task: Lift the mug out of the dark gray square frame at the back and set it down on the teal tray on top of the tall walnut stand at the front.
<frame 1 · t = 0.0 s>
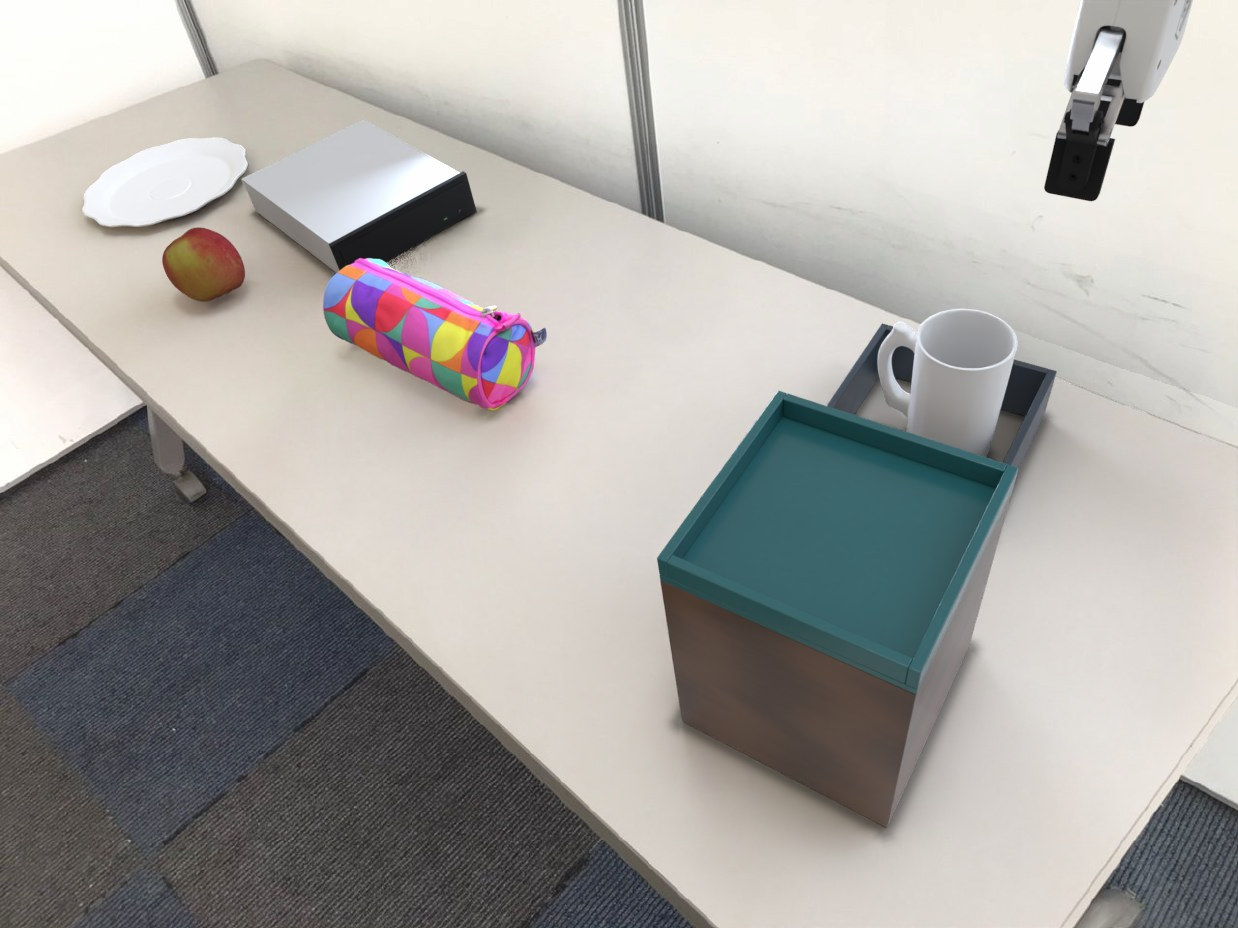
hand: (1092, 157, 62), 22 cm above the table, tool pointing down, fingers open, 9 cm apart
dark gray square frame: (926, 445, 76), on the table
pencil case: (443, 365, 91), on the table
mug: (926, 447, 76), resting in dark gray square frame
tray: (837, 535, 51), resting on riser
riser: (826, 683, 63), on the table
plate: (172, 191, 121), on the table
disc drive: (364, 214, 112), on the table
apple: (220, 297, 104), on the table
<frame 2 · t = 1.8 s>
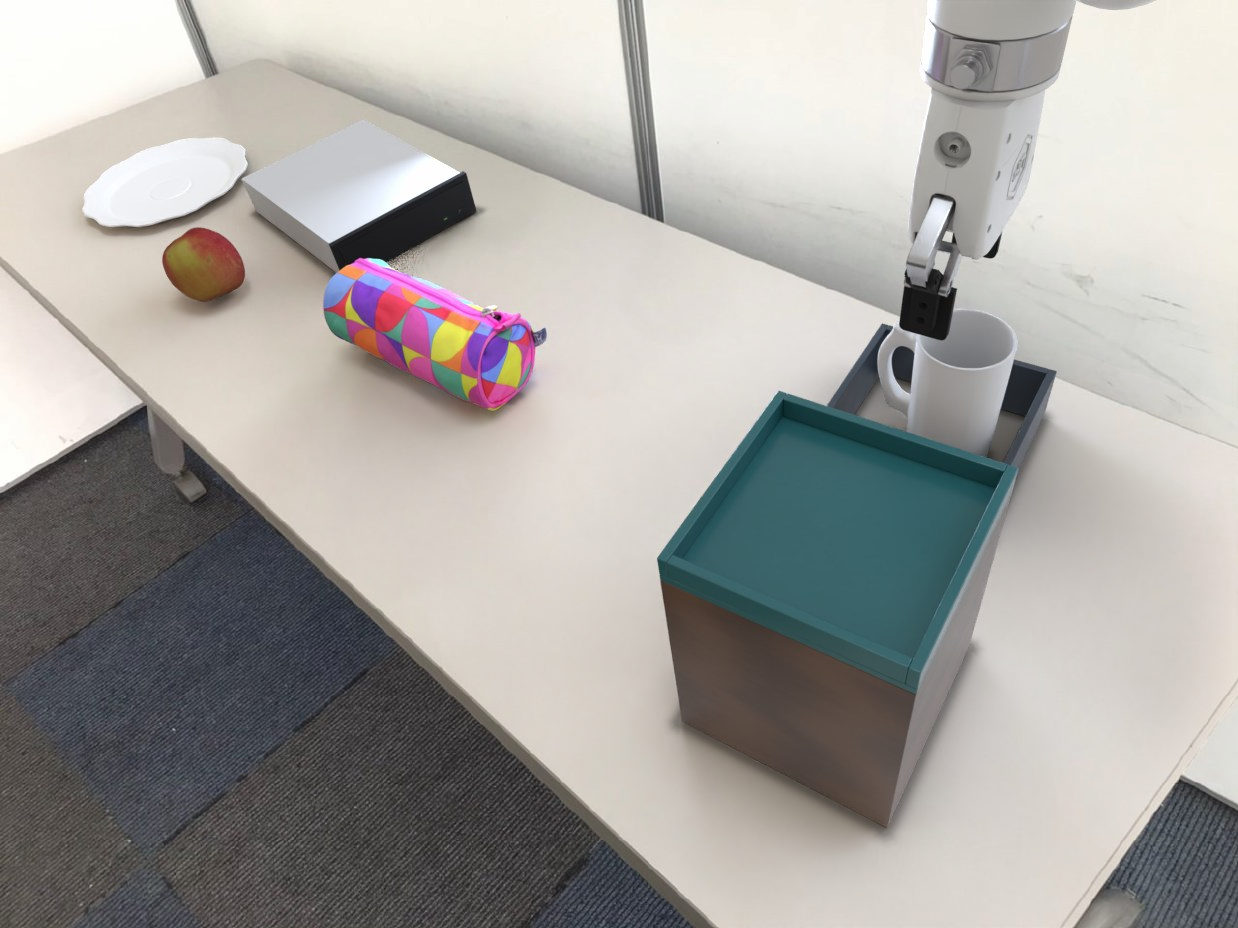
hand: (949, 291, 65), 15 cm above the table, tool pointing down, fingers open, 9 cm apart
nothing on the table moved.
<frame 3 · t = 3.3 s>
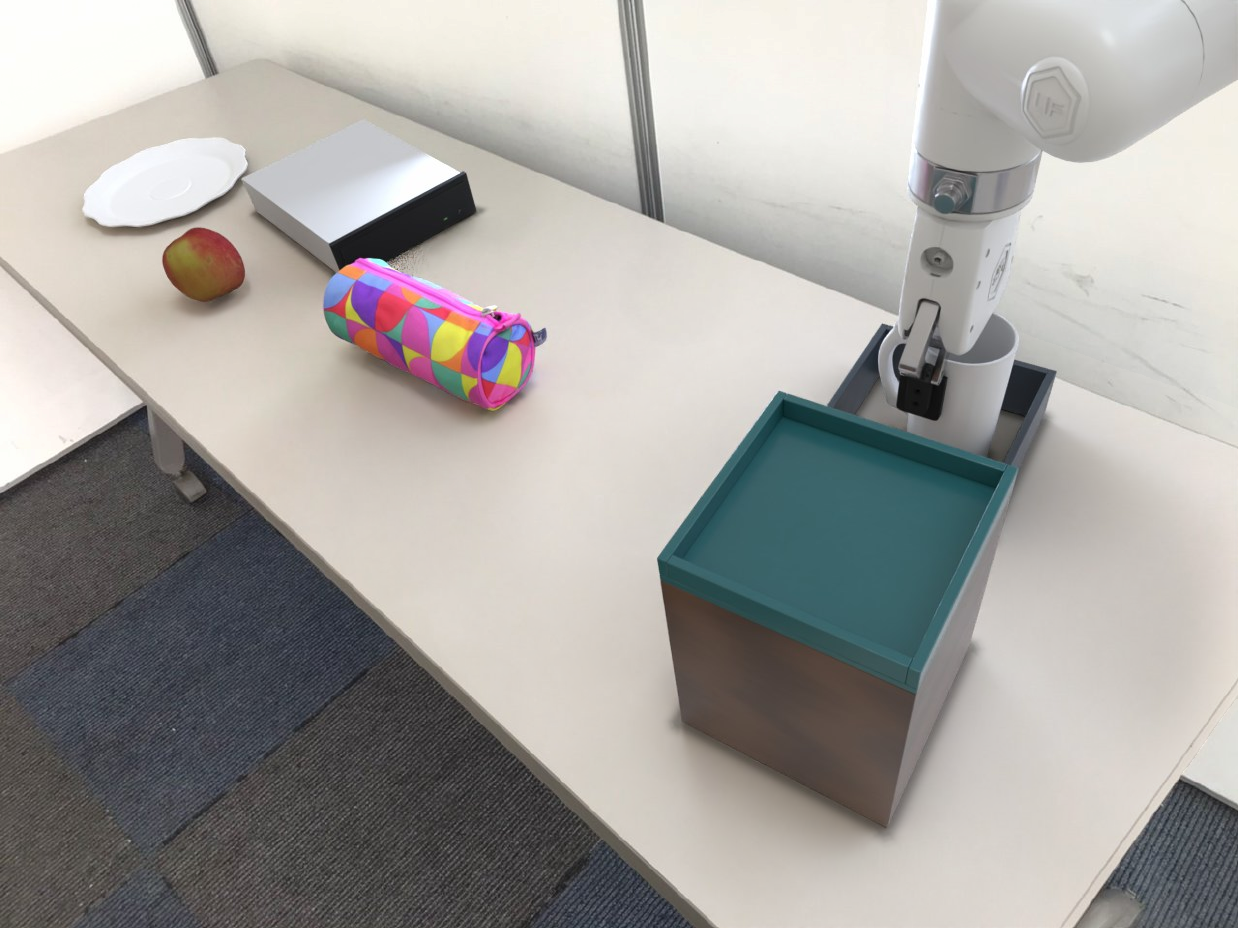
hand: (936, 379, 71), 7 cm above the table, tool pointing down, fingers closed on mug, 6 cm apart
mug: (926, 446, 76), resting in dark gray square frame, touching gripper
everything else where it was.
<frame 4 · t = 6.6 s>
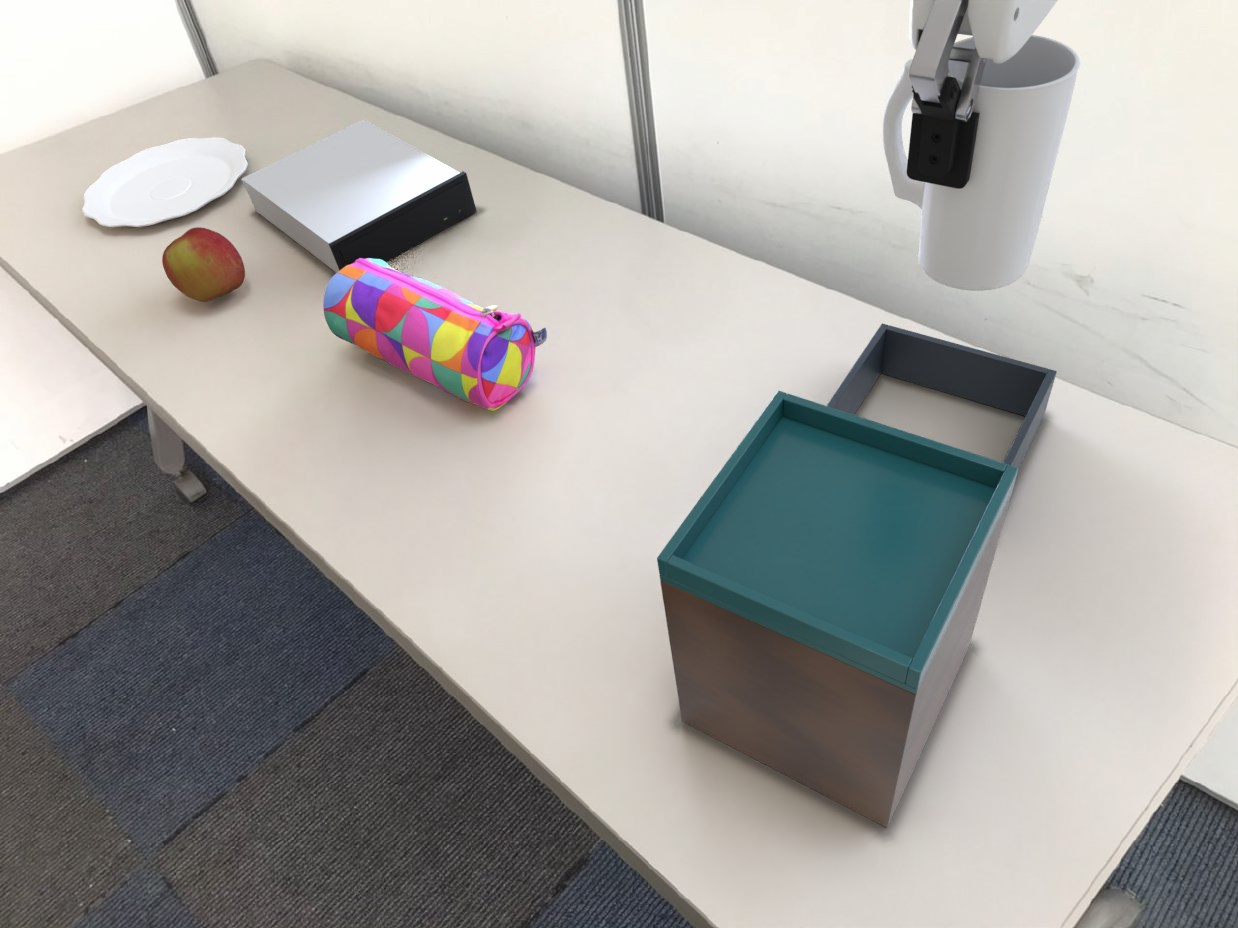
hand: (962, 145, 52), 29 cm above the table, tool pointing down, fingers closed on mug, 6 cm apart
mug: (947, 255, 57), point 22 cm above the table, touching gripper
everything else where it was.
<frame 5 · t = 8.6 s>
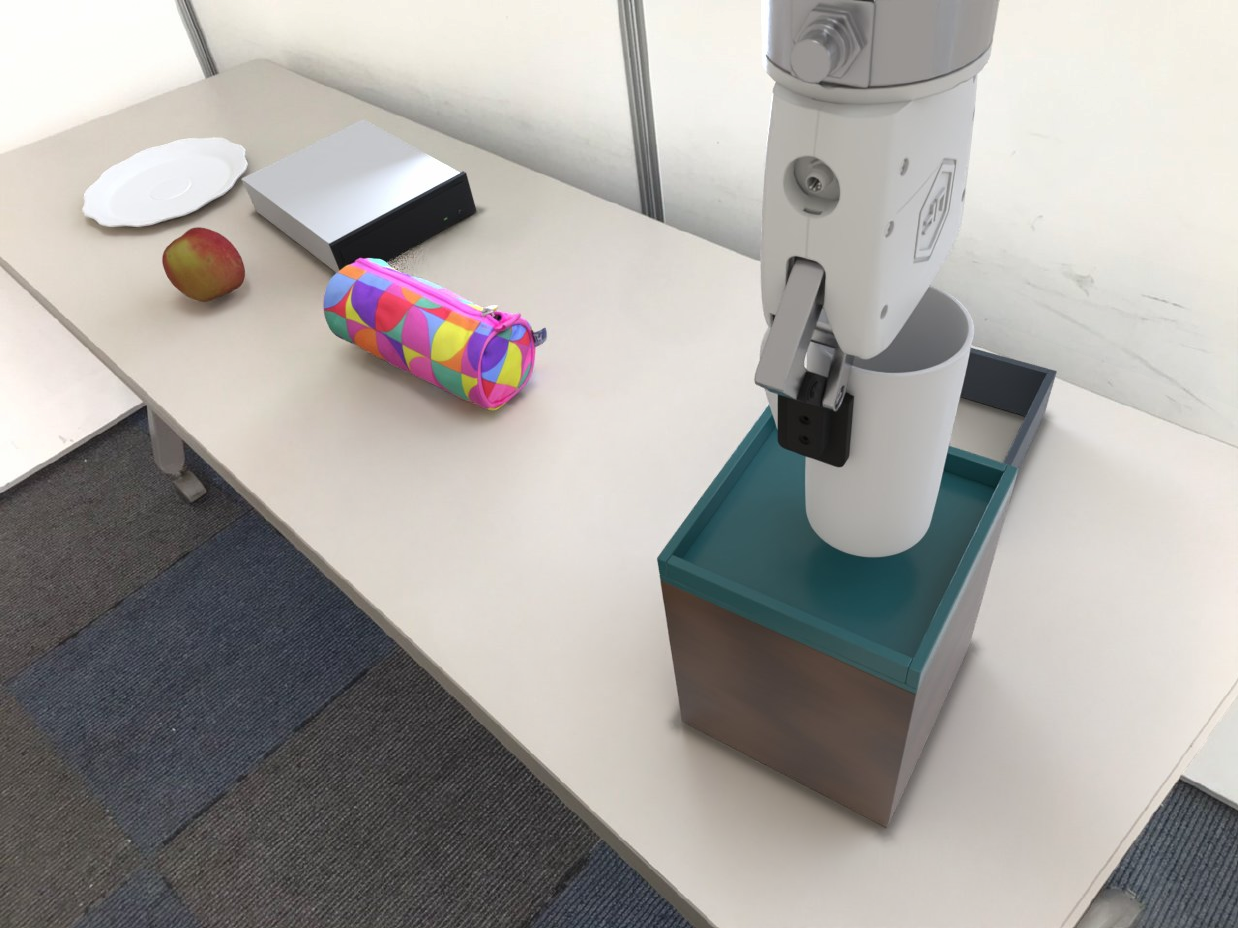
hand: (847, 398, 44), 26 cm above the table, tool pointing down, fingers closed on mug, 6 cm apart
mug: (840, 499, 49), point 19 cm above the table, touching gripper
everything else where it was.
when the fingers open (24 cm above the table, at t = 9.9 s): mug stays where it is, resting on tray.
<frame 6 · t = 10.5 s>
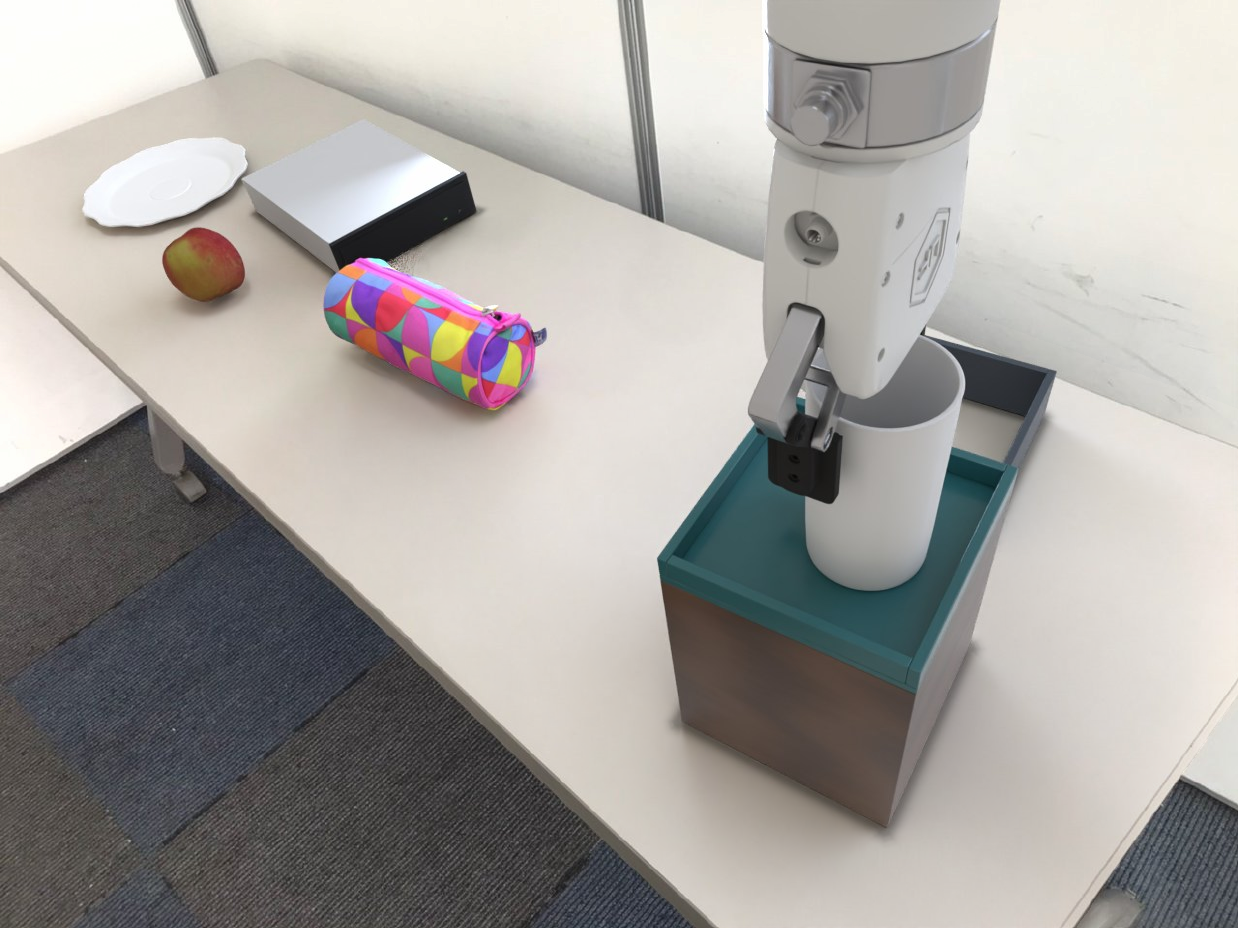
hand: (847, 420, 45), 25 cm above the table, tool pointing down, fingers open, 9 cm apart
mug: (839, 532, 51), point 16 cm above the table, touching tray
everything else where it was.
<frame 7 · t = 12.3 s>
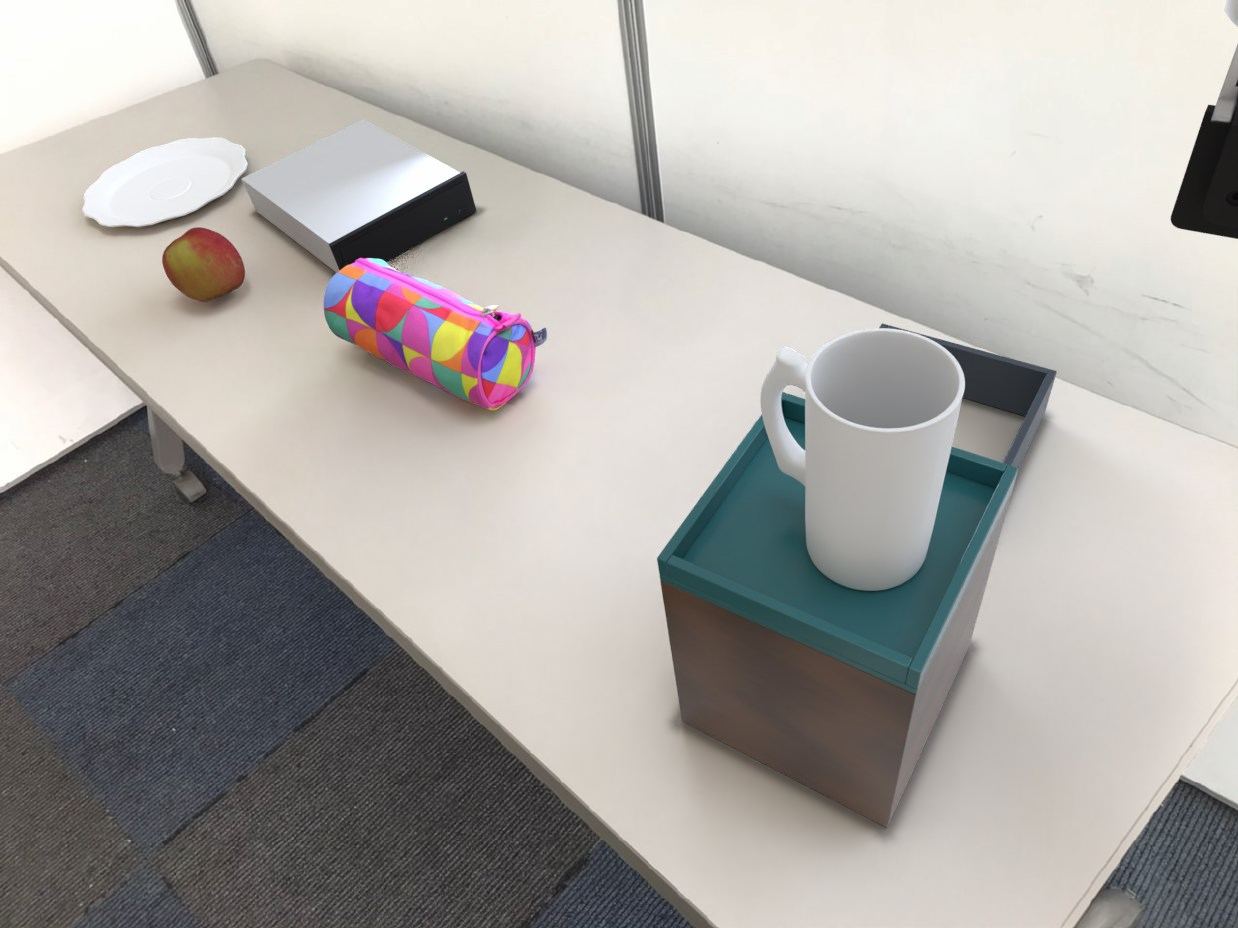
nothing on the table moved.
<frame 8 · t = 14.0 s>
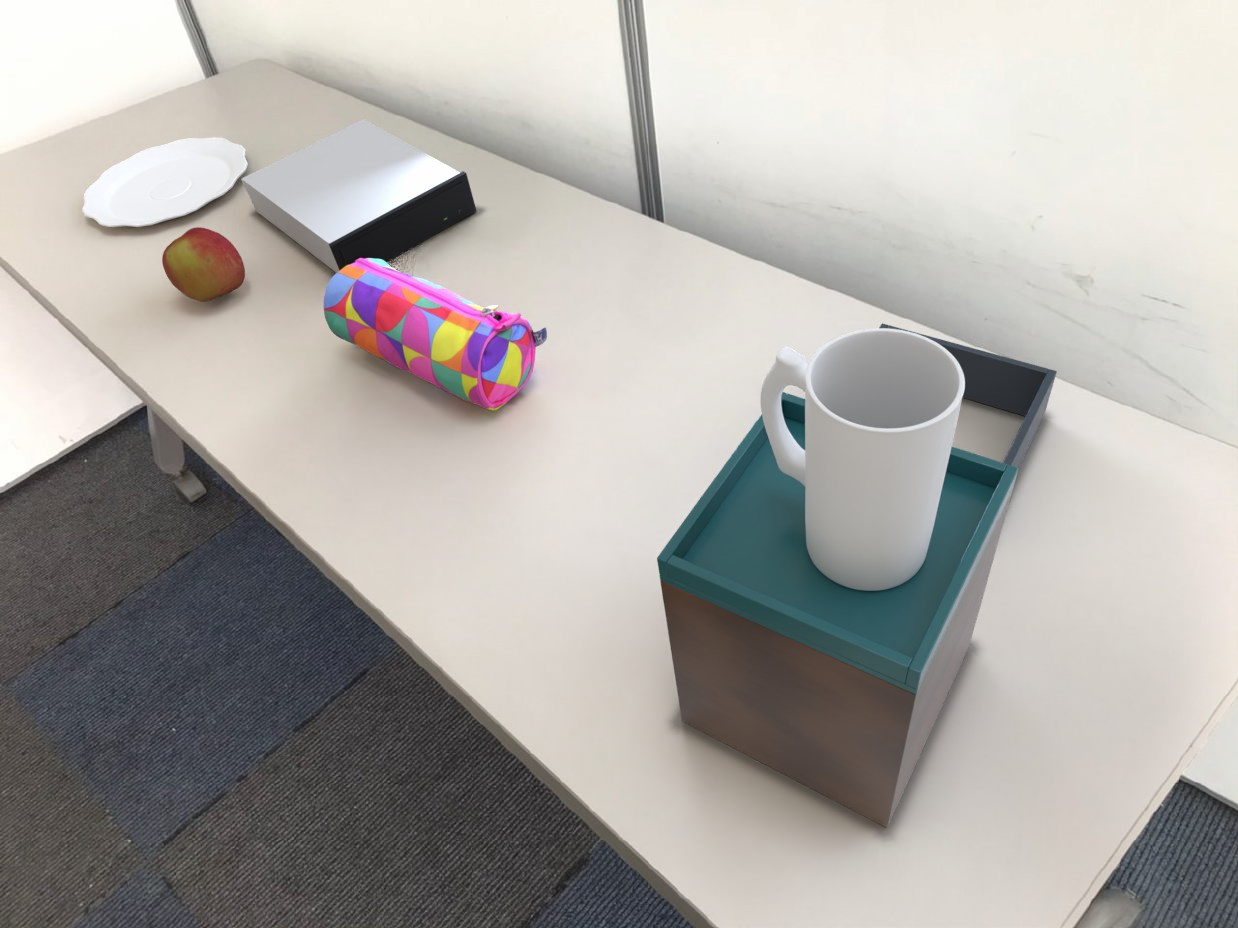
nothing on the table moved.
at the end: mug inside the target area on the tray (0.1 cm from its centre), point 0.3 cm above the tray's base; mug tilted 0° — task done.
